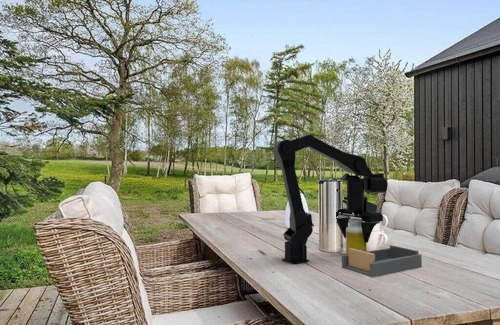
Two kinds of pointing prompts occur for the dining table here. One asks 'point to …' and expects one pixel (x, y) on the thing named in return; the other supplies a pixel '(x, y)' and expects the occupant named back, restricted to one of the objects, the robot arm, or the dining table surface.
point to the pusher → (360, 259)
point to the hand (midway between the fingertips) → (355, 240)
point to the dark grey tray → (388, 261)
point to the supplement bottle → (355, 236)
